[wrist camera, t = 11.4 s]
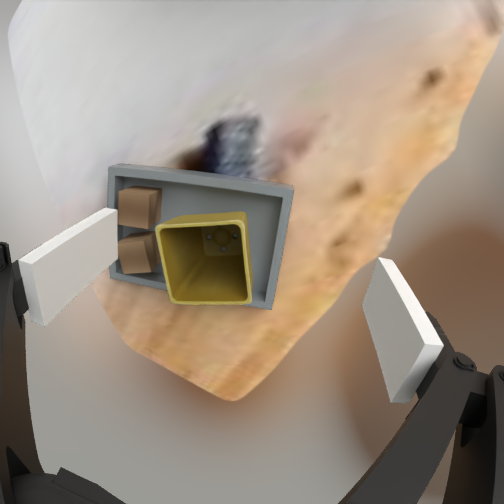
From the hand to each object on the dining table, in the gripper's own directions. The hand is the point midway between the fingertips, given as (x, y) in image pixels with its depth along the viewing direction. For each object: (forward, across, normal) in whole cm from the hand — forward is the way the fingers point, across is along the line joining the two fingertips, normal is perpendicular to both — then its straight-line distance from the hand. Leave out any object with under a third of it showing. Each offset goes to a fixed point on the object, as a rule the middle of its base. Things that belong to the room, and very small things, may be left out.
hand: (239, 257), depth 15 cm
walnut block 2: (+22, -14, -11) cm, 29 cm away
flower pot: (+22, -4, -8) cm, 24 cm away
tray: (+23, -8, -8) cm, 25 cm away
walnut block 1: (+22, -14, -5) cm, 27 cm away
